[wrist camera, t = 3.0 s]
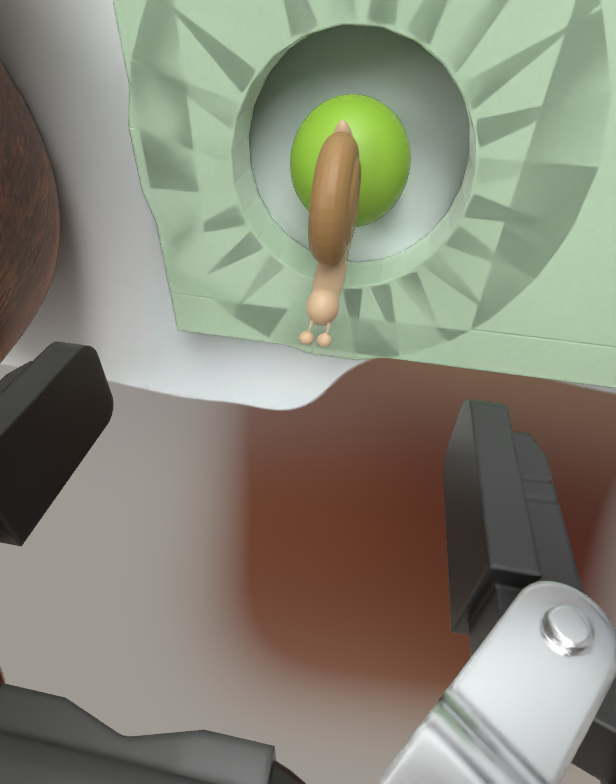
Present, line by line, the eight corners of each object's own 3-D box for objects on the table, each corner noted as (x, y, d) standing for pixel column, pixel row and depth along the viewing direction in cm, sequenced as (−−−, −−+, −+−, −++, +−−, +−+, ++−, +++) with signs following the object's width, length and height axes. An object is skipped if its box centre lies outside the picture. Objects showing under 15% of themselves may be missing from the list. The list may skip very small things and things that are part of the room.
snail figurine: (302, 218, 26) (242, 341, 17) (302, 82, 22) (221, 153, 13) (400, 225, 25) (389, 358, 16) (419, 86, 21) (419, 165, 12)
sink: (108, -160, 18) (64, -180, 15) (1116, -155, 14) (1247, -181, 12) (188, 311, 32) (171, 335, 29) (699, 375, 28) (722, 409, 26)
